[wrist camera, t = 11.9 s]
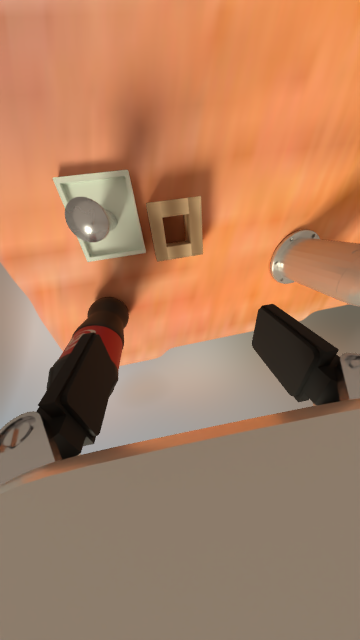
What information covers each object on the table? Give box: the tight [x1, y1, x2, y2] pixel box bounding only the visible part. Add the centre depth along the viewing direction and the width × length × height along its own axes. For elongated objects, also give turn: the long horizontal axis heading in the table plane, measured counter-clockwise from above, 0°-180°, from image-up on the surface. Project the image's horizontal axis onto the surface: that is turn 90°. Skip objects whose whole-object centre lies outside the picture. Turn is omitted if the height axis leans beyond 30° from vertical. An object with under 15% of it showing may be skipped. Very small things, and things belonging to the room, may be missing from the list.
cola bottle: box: [47, 297, 129, 396], centre depth 26 cm, size 8×8×30 cm
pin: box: [65, 197, 117, 242], centre depth 24 cm, size 5×5×12 cm
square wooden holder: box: [146, 196, 203, 262], centre depth 30 cm, size 9×9×5 cm
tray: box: [53, 170, 146, 262], centre depth 29 cm, size 11×12×2 cm
